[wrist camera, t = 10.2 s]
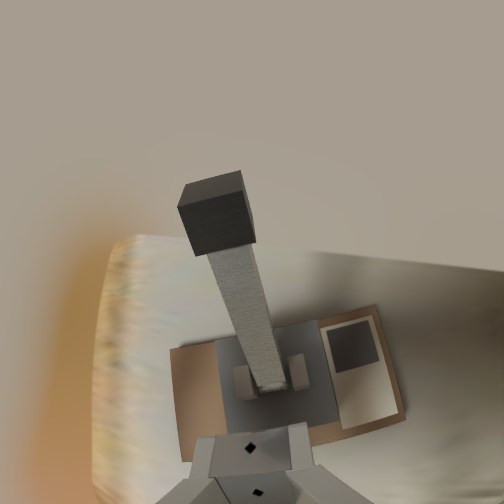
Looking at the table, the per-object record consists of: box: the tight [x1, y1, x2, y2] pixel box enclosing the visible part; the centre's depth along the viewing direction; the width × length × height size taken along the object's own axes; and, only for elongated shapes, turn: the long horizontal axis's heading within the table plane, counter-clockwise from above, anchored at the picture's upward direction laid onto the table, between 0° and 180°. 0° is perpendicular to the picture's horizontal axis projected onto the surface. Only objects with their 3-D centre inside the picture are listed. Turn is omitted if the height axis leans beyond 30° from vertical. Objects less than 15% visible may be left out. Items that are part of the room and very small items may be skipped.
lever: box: [177, 170, 288, 394], centre depth 13 cm, size 2×2×11 cm
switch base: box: [170, 305, 406, 462], centre depth 18 cm, size 16×9×8 cm, turn 99°
